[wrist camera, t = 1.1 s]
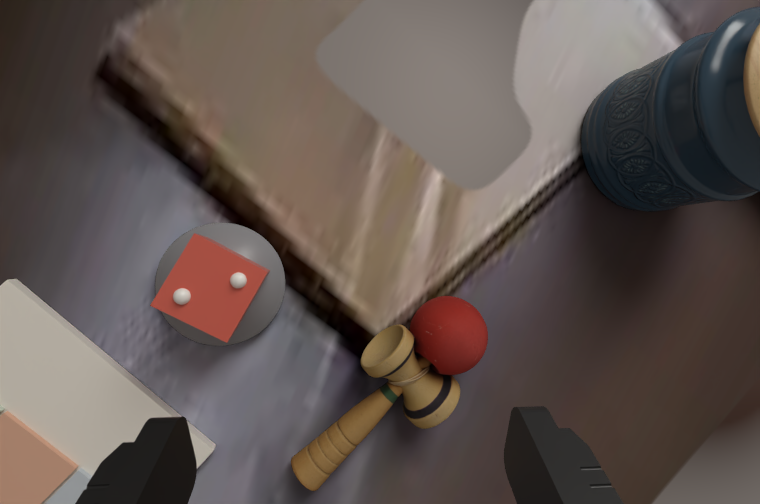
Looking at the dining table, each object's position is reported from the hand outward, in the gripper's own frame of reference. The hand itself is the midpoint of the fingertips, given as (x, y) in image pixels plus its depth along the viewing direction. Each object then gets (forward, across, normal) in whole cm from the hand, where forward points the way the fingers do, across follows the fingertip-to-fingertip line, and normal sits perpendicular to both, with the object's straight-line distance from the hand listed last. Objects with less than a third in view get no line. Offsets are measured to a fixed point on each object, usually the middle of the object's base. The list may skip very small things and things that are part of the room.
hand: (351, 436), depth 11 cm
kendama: (+20, -2, +16) cm, 25 cm away
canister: (+32, -27, -1) cm, 42 cm away
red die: (+21, +10, +7) cm, 24 cm away
